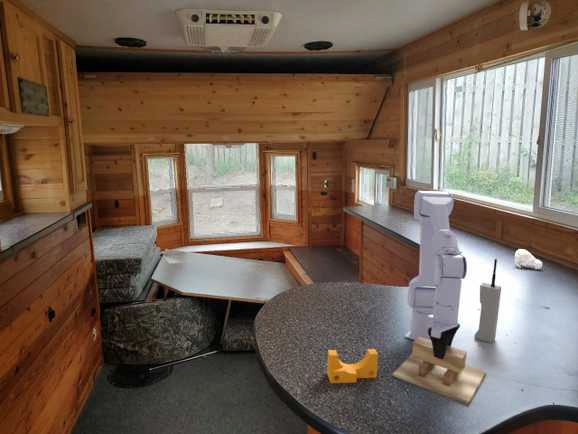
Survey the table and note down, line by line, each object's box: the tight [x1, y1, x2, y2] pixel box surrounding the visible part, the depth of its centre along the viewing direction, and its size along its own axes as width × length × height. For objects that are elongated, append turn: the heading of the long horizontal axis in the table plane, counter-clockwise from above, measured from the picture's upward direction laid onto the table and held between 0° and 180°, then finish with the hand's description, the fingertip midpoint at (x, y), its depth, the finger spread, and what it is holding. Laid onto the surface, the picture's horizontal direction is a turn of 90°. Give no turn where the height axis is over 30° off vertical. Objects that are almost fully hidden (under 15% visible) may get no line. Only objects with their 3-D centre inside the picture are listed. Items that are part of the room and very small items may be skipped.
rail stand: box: [392, 354, 487, 406], centre depth 105 cm, size 16×18×3 cm
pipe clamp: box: [326, 348, 379, 384], centre depth 103 cm, size 12×4×6 cm, turn 96°
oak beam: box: [411, 337, 468, 374], centre depth 104 cm, size 4×12×4 cm, turn 54°
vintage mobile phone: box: [474, 258, 502, 344], centre depth 123 cm, size 4×5×25 cm
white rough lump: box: [514, 248, 543, 270], centre depth 198 cm, size 6×8×12 cm
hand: (441, 354), depth 104 cm, fingers closed on oak beam, 4 cm apart
